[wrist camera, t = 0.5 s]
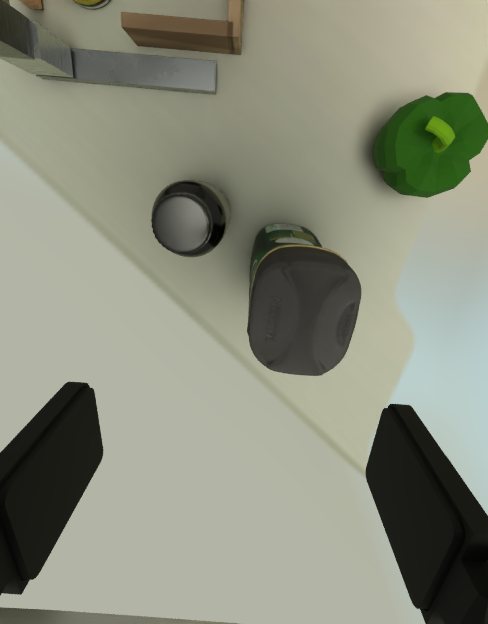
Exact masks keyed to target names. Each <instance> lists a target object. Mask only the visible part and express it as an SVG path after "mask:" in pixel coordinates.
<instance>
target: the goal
mask: <svg viewBox="0 0 488 624" xmlns="http://www.w3.org/2000/svg"><path fill="white" fill-rule="evenodd" d="M243 9H244V0H229V3H228V21H219V20H207V19H196V18H185V17H173V16H162V15H151V14H139V13H128V12H121V22H122V28H123V29H124V30H125V31H126V32H127V34H128V35H129V36H130V37H131V38H132V39H133V41H134V42H135V43H136V44H137V45H138V46H146V47H157V48H169V49H180V50H192V51H203V52H214V53H226V54H237V55H241V41H242V25H243Z"/></svg>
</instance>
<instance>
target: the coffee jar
mask: <svg viewBox="0 0 488 624" xmlns="http://www.w3.org/2000/svg"><path fill="white" fill-rule="evenodd" d="M360 300H361V285H360V282H359V279H358V277H357V275H356V274H355V272H354V271H353V270H352V268H351V267H350V266H349V265H348V263H347V262H346V261H345V260H344V259H343V258H342V257H341V256H340V255H339V254H337V253H335V252H333V251H331V250H328V249H325V248H322V246H321V244H320V243H319V241H318V239H317V238H316V236H315V235H314V234H313V233H312V232H311V231H309V230H308V229H306V228H304V227H301V226H296V225H291V224H273V225H269V226H267V227H265V228H263V229H262V230H261V231H260V232H259V234H258V235H257V237H256V239H255V243H254V247H253V251H252V257H251V265H250V288H249V316H248V327H247V332H248V335H249V342H250V346H251V349H252V351H253V354H254V355H255V357H256V358H257V359H258V361H260V362H261V363H262V364H263V365H264V366H266V367H267V368H269V369H270V370H273V371H277V372H282V373H287V374H295V375H310V376H320V375H322V374H324V373H326V372H328V371H329V370H331V369H333V368H334V367H335V366H336V365H337V364H338V363H339V362H340V361H341V360H342V359H343V357H344V355H345V354H346V352H347V349H348V346H349V343H350V340H351V337H352V334H353V331H354V328H355V324H356V320H357V315H358V310H359V304H360Z"/></svg>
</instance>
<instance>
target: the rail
mask: <svg viewBox="0 0 488 624" xmlns="http://www.w3.org/2000/svg"><path fill="white" fill-rule="evenodd" d="M70 49H71V59H72V69H73V78H72V77H60V76H49V75H38V74H36V76H38V77H40V78H42V79H48V80H59V81H70V82H82V83H93V84H104V85H116V86H127V87H139V88H150V89H161V90H173V91H184V92H195V93H207V94H216V79H217V64H216V61H210V60H198V59H187V58H176V57H164V56H153V55H142V54H130V53H119V52H108V51H96V50H85V49H74V48H70Z"/></svg>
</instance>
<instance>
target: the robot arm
mask: <svg viewBox="0 0 488 624" xmlns="http://www.w3.org/2000/svg"><path fill="white" fill-rule="evenodd" d="M102 456H103V446H102V439H101V432H100V425H99V419H98V412H97V406H96V399H95V393H94V389H93V388H90V387H89V385H88V384H87V383H81V382H67V383H66V384H65V385H64V386H63V387H62V388H61V389H60V390H59V391H58V392H57V393H56V394H55V395H54V397H52V399H50V401H49V402H48V403H47V404H46V405H45V406H44V407H43V408H42V409H41V410H40V411H39V412H38V413H37V414H36V415H35V416H34V418H33V419H32V420H31V421H30V422H29V423H28V424H27V425H26V426H25V427H24V428H23V429H22V430H21V431H20V432H19V433H18V435H17V436H16V437H15V438H14V439H13V440H12V441H11V442H10V443H9V444H8V445H7V446H6V447H5V448H4V450H3V451H2V452H1V453H0V595H1V593H8V594H22V593H23V591H24V589H25V587H26V585H27V584H28V582H29V580H30V579H31V580H33V579H34V578H36V577H37V575H38V574H39V573H40V571H41V569H42V567H43V566H44V564H45V562H46V560H47V558H48V556H49V555H50V553H51V551H52V549H53V547H54V546H55V544H56V542H57V540H58V538H59V537H60V535H61V533H62V531H63V529H64V527H65V525H66V524H67V522H68V520H69V518H70V517H71V515H72V513H73V511H74V509H75V508H76V506H77V504H78V502H79V500H80V498H81V497H82V495H83V493H84V491H85V489H86V487H87V486H88V484H89V482H90V480H91V478H92V477H93V475H94V473H95V471H96V469H97V468H98V465H99V464H100V462H101V460H102ZM366 479H367V482H368V485H369V488H370V491H371V493H372V496H373V499H374V501H375V504H376V507H377V509H378V512H379V515H380V517H381V520H382V523H383V526H384V528H385V531H386V534H387V536H388V539H389V542H390V544H391V547H392V550H393V553H394V555H395V558H396V561H397V563H398V566H399V569H400V572H401V574H402V577H403V580H404V582H405V585H406V588H407V590H408V593H409V596H410V599H411V601H412V603H413V605H414V606H415V607H416V608H418V609H420V610H421V613H422V615H423V618H424V620H425V623H426V624H488V516H487V514H486V513H485V511H484V510H483V508H482V507H481V505H480V504H479V503H478V501H477V500H476V498H475V497H474V495H473V494H472V492H471V491H470V490H469V488H468V487H467V485H466V484H465V482H464V481H463V480H462V478H461V477H460V475H459V474H458V472H457V471H456V469H455V468H454V467H453V465H452V464H451V462H450V461H449V459H448V458H447V457H446V456H445V454H444V453H443V451H442V450H441V448H440V447H439V446H438V444H437V443H436V441H435V440H434V438H433V437H432V435H431V434H430V433H429V431H428V430H427V428H426V427H425V425H424V424H423V422H422V421H421V419H420V418H419V417H418V415H417V414H416V412H415V411H414V409H413V408H412V407H411V406H410V405H401V404H390V405H389V406H388V408H384V409H383V411H382V414H381V417H380V421H379V424H378V428H377V431H376V435H375V438H374V442H373V446H372V449H371V453H370V456H369V460H368V463H367V467H366ZM0 624H237V623H224V622H210V621H197V620H183V619H171V618H170V619H169V618H156V617H142V616H129V615H115V614H100V613H86V612H72V611H57V610H39V609H19V608H0Z"/></svg>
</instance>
